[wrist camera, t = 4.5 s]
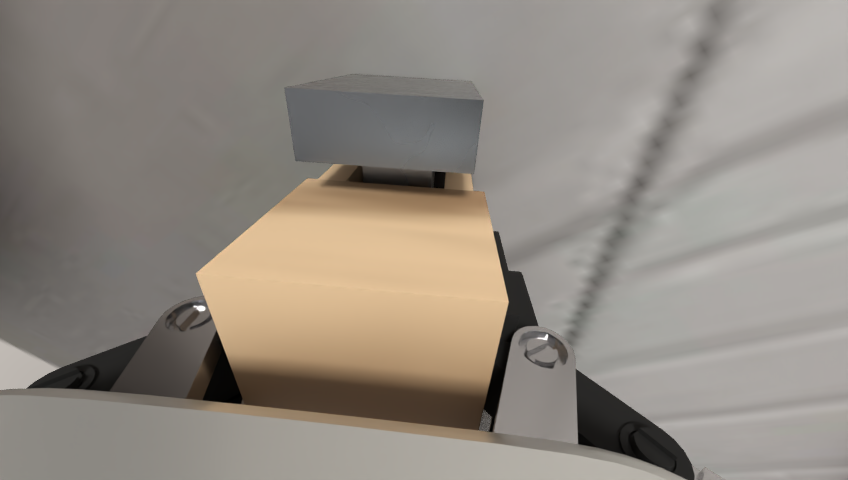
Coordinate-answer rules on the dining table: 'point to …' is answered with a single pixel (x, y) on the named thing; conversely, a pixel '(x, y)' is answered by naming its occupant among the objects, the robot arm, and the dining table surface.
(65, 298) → the dining table surface
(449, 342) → the block
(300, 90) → the grey slide rail
